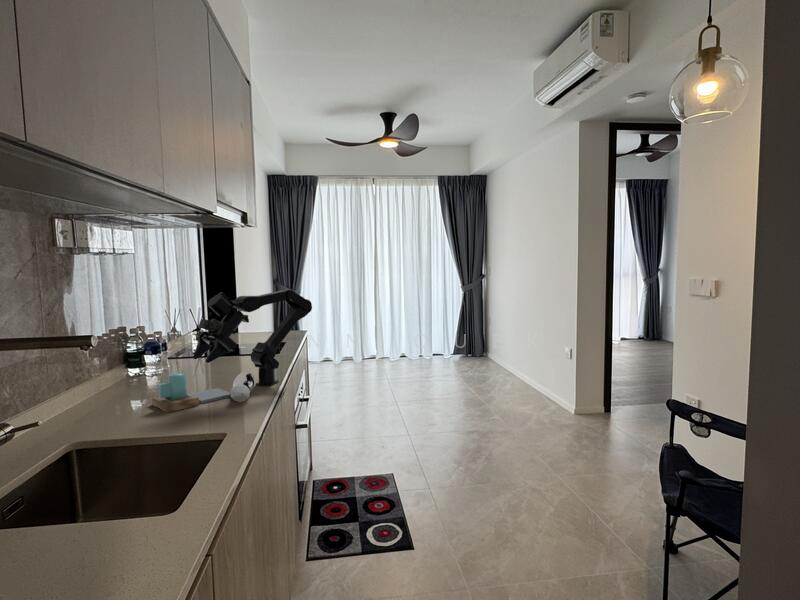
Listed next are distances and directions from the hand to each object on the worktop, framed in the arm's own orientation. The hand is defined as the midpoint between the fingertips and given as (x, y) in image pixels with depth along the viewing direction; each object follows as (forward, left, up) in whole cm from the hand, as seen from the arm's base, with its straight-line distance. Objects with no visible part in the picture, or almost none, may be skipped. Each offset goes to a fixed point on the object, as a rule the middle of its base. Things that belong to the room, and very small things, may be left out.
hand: (200, 360), depth 158 cm
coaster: (-2, +1, -13) cm, 14 cm away
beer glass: (+1, +15, -10) cm, 19 cm away
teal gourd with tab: (+8, -4, -13) cm, 16 cm away
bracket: (+7, -3, -13) cm, 16 cm away
